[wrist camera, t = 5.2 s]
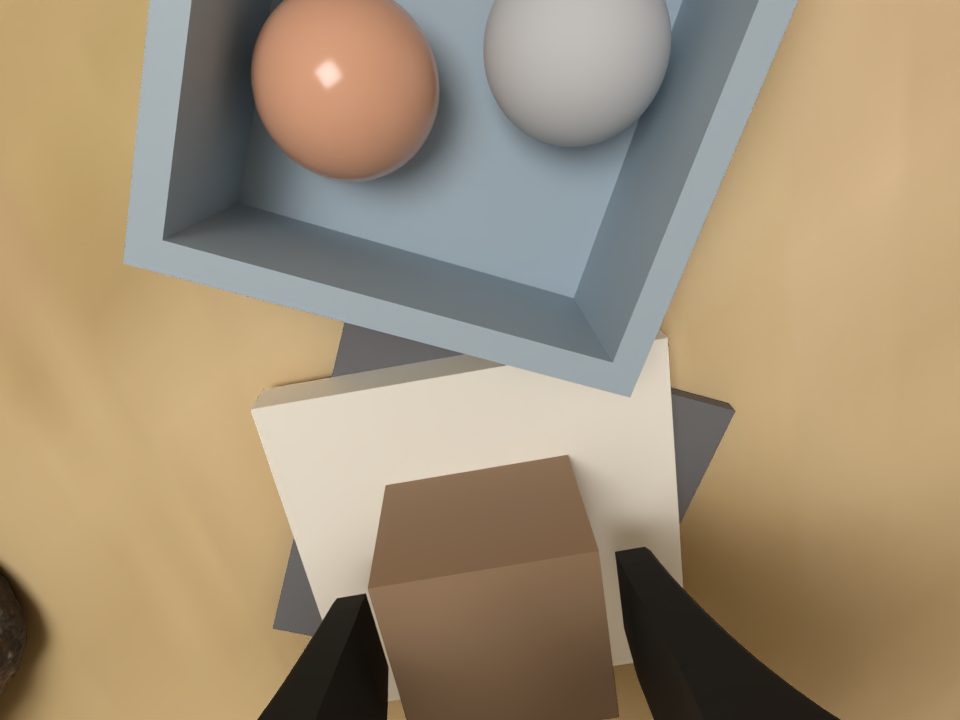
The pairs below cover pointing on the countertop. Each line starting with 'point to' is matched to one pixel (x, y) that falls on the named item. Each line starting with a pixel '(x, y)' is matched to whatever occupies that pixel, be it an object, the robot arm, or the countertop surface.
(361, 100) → the ball terracotta
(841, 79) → the countertop surface
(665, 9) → the ball grey
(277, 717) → the robot arm
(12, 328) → the countertop surface
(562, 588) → the lid
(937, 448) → the countertop surface
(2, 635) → the stone
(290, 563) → the mat
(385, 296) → the box
